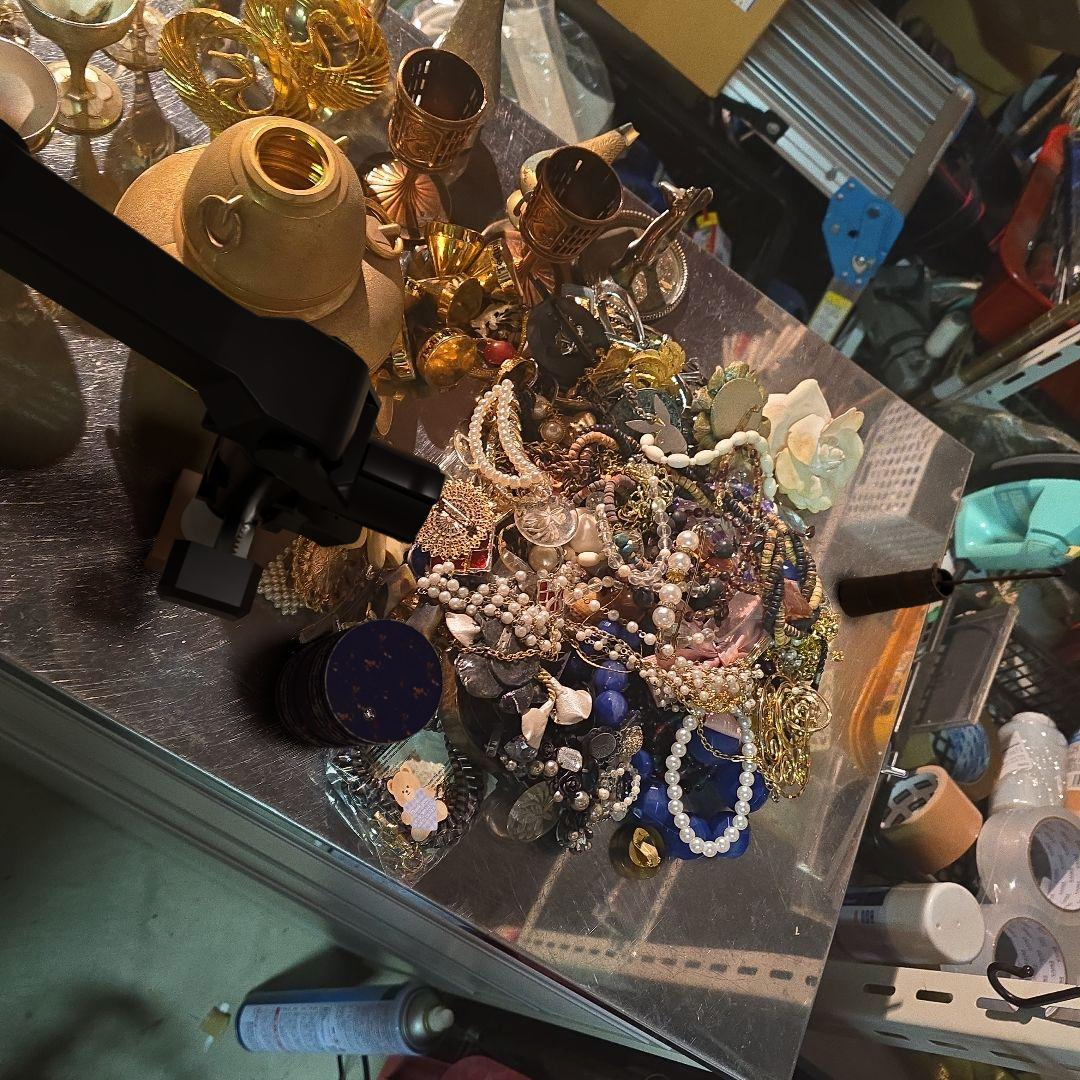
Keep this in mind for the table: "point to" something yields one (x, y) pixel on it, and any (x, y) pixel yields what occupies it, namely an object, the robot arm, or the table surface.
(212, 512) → the planter
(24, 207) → the robot arm
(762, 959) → the table surface
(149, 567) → the tan square box
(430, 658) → the storage jar
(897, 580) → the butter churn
